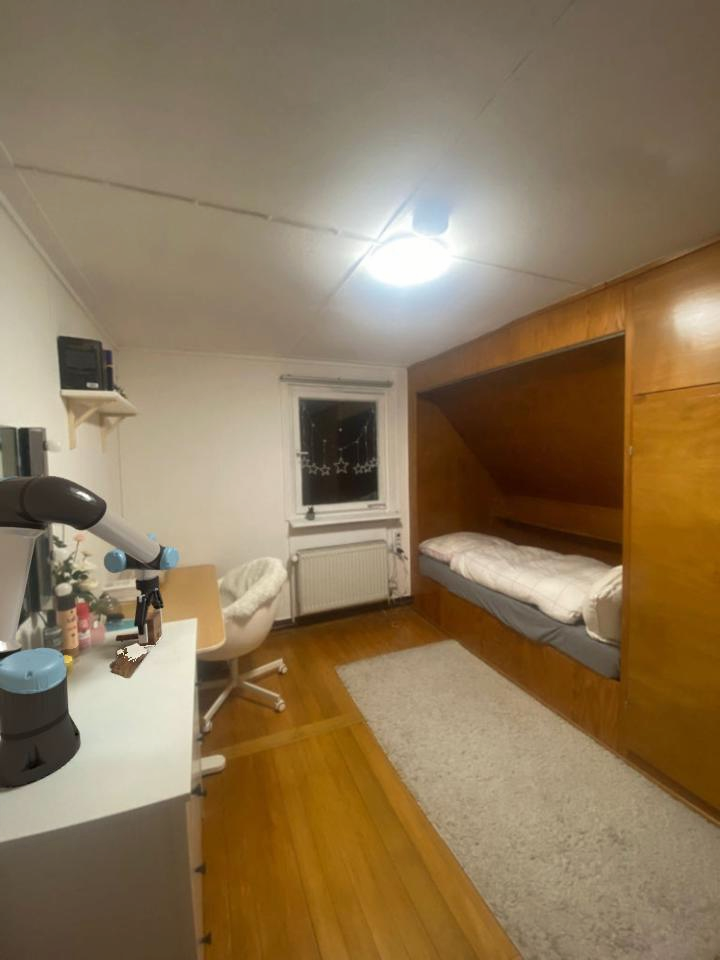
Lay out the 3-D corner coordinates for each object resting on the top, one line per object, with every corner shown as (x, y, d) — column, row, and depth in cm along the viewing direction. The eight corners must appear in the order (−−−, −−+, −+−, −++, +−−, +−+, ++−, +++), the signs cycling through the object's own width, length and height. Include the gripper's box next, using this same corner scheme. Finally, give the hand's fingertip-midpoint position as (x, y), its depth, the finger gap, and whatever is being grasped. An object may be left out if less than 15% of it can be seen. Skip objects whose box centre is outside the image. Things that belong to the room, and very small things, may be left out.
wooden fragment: (117, 647, 139) (117, 644, 139) (152, 640, 143) (152, 638, 143) (102, 685, 115) (102, 681, 115) (144, 676, 119) (144, 672, 119)
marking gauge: (112, 650, 136) (110, 622, 135) (122, 641, 143) (120, 615, 142) (154, 646, 138) (153, 619, 137) (162, 637, 145) (160, 611, 144)
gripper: (144, 587, 128) (148, 649, 129) (170, 566, 153) (173, 619, 154) (119, 589, 127) (124, 651, 128) (149, 568, 152) (153, 620, 153)
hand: (151, 634), depth 141 cm, fingers open, 13 cm apart
